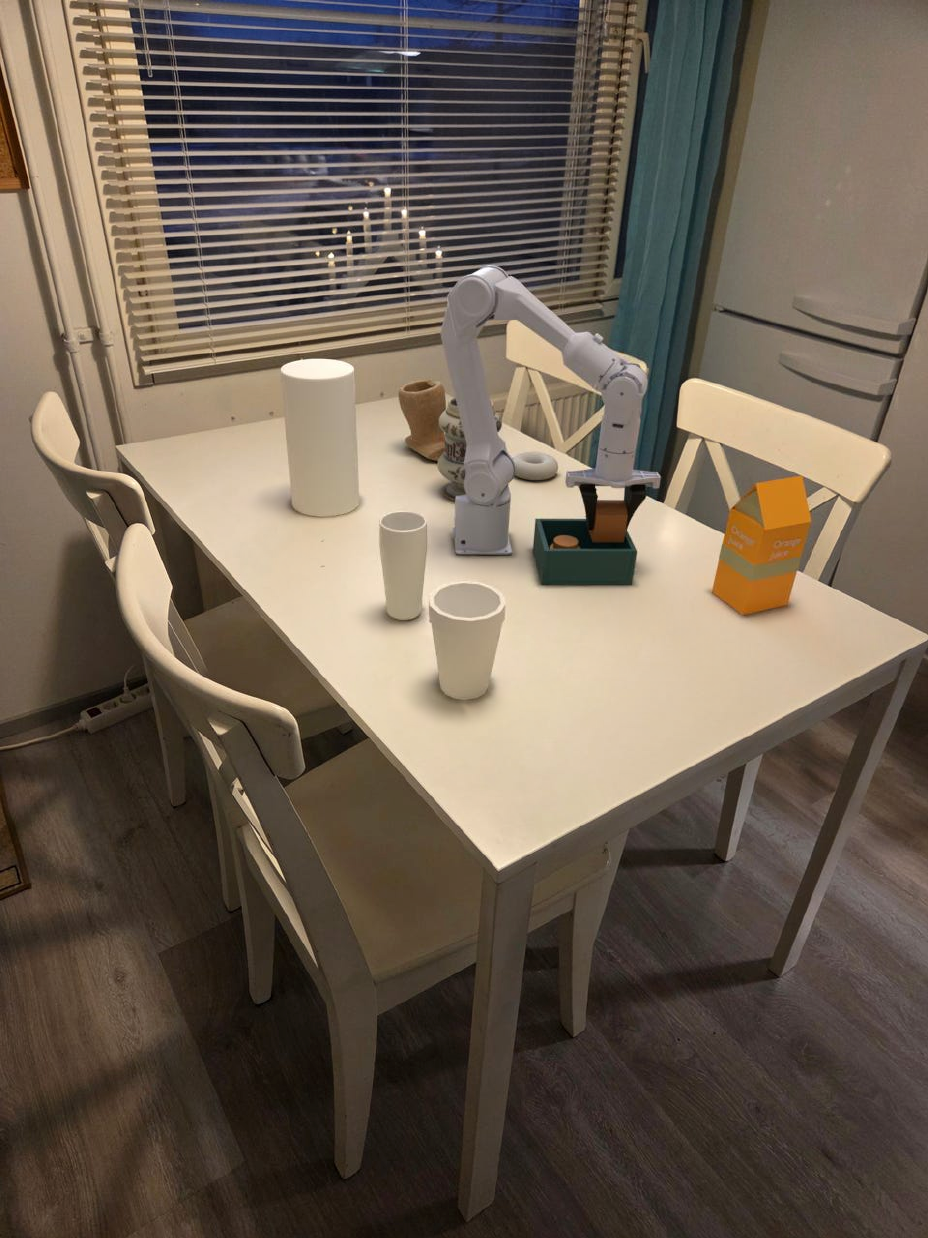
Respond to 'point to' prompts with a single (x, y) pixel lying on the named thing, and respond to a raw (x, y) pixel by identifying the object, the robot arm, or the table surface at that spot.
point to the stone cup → (424, 416)
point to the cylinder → (321, 436)
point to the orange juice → (763, 546)
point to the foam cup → (466, 635)
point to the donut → (535, 465)
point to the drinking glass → (403, 562)
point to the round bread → (565, 542)
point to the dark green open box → (581, 556)
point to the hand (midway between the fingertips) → (606, 527)
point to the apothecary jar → (455, 449)
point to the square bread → (609, 521)
